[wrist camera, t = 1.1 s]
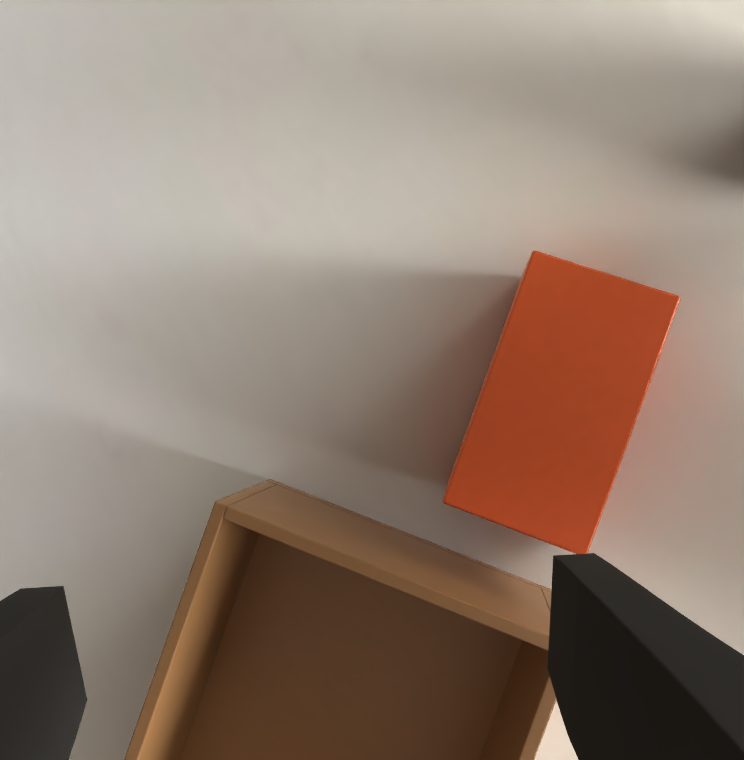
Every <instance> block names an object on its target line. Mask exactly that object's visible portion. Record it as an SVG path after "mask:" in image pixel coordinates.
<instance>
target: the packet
mask: <svg viewBox="0 0 744 760" xmlns="http://www.w3.org/2000/svg"><path fill="white" fill-rule="evenodd" d="M679 301H680V297H679V296H677V295H674V294H671V293H668V292H664V291H661V290H658V289H655V288H652V287H649V286H645V285H642V284H639V283H636V282H633V281H630V280H626V279H623V278H620V277H617V276H614V275H611V274H607V273H604V272H601V271H598V270H595V269H592V268H588V267H585V266H582V265H579V264H576V263H573V262H570V261H566V260H563V259H560V258H557V257H554V256H551V255H547V254H544V253H541V252H538V251H533V252H532V254H531V256H530V259H529V261H528V263H527V266H526V268H525V270H524V273H523V275H522V277H521V280H520V283H519V286H518V288H517V291H516V294H515V297H514V300H513V302H512V305H511V308H510V311H509V313H508V316H507V319H506V322H505V325H504V327H503V330H502V333H501V336H500V339H499V341H498V344H497V347H496V350H495V352H494V355H493V358H492V361H491V364H490V366H489V369H488V372H487V375H486V377H485V380H484V383H483V386H482V389H481V391H480V394H479V397H478V400H477V402H476V405H475V408H474V411H473V414H472V416H471V419H470V422H469V425H468V427H467V430H466V433H465V436H464V439H463V441H462V444H461V447H460V450H459V452H458V455H457V458H456V461H455V464H454V466H453V469H452V472H451V475H450V478H449V480H448V483H447V487H446V491H445V495H444V499H443V502H444V503H445V504H447V505H450V506H453V507H455V508H458V509H460V510H463V511H466V512H468V513H471V514H474V515H476V516H479V517H481V518H484V519H487V520H489V521H492V522H495V523H497V524H500V525H502V526H505V527H508V528H510V529H513V530H515V531H518V532H521V533H523V534H526V535H529V536H531V537H534V538H536V539H539V540H542V541H544V542H547V543H549V544H552V545H555V546H557V547H560V548H563V549H565V550H568V551H570V552H573V553H576V554H587V553H588V550H589V548H590V545H591V542H592V539H593V537H594V534H595V531H596V528H597V526H598V523H599V520H600V517H601V515H602V512H603V509H604V506H605V504H606V501H607V498H608V495H609V493H610V490H611V487H612V485H613V482H614V479H615V476H616V474H617V471H618V468H619V465H620V463H621V460H622V457H623V454H624V452H625V449H626V446H627V443H628V441H629V438H630V435H631V433H632V430H633V427H634V424H635V422H636V419H637V416H638V413H639V411H640V408H641V405H642V402H643V400H644V397H645V394H646V391H647V389H648V386H649V383H650V380H651V378H652V375H653V372H654V370H655V367H656V364H657V361H658V359H659V356H660V353H661V350H662V348H663V345H664V342H665V339H666V337H667V334H668V331H669V328H670V326H671V323H672V320H673V318H674V315H675V312H676V309H677V307H678V304H679Z"/></svg>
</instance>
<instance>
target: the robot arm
mask: <svg viewBox="0 0 744 760" xmlns="http://www.w3.org/2000/svg"><path fill="white" fill-rule="evenodd" d="M547 669H548V672H549V676H550V679H551V682H552V686H553V689H554V692H555V696H556V699H557V702H558V706H559V709H560V712H561V715H562V718H563V721H564V724H565V727H566V730H567V733H568V736H569V738H570V741H571V743H572V745H573V748H574V750H575V752H576V755H577V757H578V759H579V760H744V655H742V654H741V653H739V652H738V651H736V650H735V649H733V648H732V647H730V646H728V645H727V644H725V643H724V642H722V641H721V640H719V639H718V638H716V637H715V636H713V635H712V634H710V633H709V632H707V631H706V630H704V629H703V628H701V627H700V626H698V625H697V624H695V623H694V622H693V621H691V620H690V619H688V618H687V617H685V616H684V615H682V614H681V613H679V612H678V611H677V610H675V609H674V608H672V607H671V606H669V605H668V604H667V603H665V602H664V601H662V600H661V599H659V598H658V597H657V596H655V595H654V594H652V593H651V592H650V591H648V590H647V589H645V588H644V587H643V586H641V585H640V584H638V583H637V582H635V581H634V580H633V579H631V578H630V577H628V576H627V575H626V574H624V573H623V572H621V571H620V570H618V569H617V568H616V567H614V566H613V565H611V564H610V563H608V562H607V561H605V560H604V559H602V558H601V557H599V556H597V555H596V554H594V553H589V554H573V555H557V556H553V573H552V591H551V610H550V628H549V647H548V665H547ZM86 702H87V697H86V692H85V687H84V682H83V678H82V673H81V668H80V663H79V659H78V654H77V649H76V644H75V639H74V635H73V630H72V625H71V620H70V616H69V611H68V606H67V601H66V596H65V592H64V587H63V586H56V587H40V588H24V589H19V590H18V591H16V592H14V593H13V594H11V595H9V596H8V597H6V598H5V599H3V600H1V601H0V760H69V757H70V754H71V751H72V748H73V745H74V742H75V739H76V735H77V732H78V729H79V725H80V722H81V719H82V716H83V712H84V709H85V706H86Z"/></svg>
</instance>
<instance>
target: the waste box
mask: <svg viewBox="0 0 744 760" xmlns="http://www.w3.org/2000/svg"><path fill="white" fill-rule="evenodd" d="M550 610H551V590H550V589H548V588H545V587H543V586H540V585H538V584H535V583H532V582H530V581H527V580H525V579H522V578H520V577H517V576H515V575H512V574H510V573H507V572H504V571H502V570H499V569H497V568H494V567H492V566H489V565H487V564H484V563H482V562H479V561H476V560H474V559H471V558H469V557H466V556H464V555H461V554H459V553H456V552H454V551H451V550H448V549H446V548H443V547H441V546H438V545H436V544H433V543H431V542H428V541H425V540H423V539H420V538H418V537H415V536H413V535H410V534H408V533H405V532H403V531H400V530H397V529H395V528H392V527H390V526H387V525H385V524H382V523H380V522H377V521H375V520H372V519H369V518H367V517H364V516H362V515H359V514H357V513H354V512H352V511H349V510H346V509H344V508H341V507H339V506H336V505H334V504H331V503H329V502H326V501H324V500H321V499H318V498H316V497H313V496H311V495H308V494H306V493H303V492H301V491H298V490H296V489H293V488H290V487H288V486H285V485H283V484H280V483H278V482H275V481H273V480H268V481H265V482H263V483H260V484H258V485H255V486H253V487H250V488H248V489H245V490H243V491H240V492H238V493H235V494H233V495H230V496H228V497H225V498H223V499H221V500H218V501H216V502H215V503H214V506H213V509H212V512H211V515H210V518H209V520H208V523H207V526H206V529H205V532H204V535H203V537H202V540H201V543H200V546H199V549H198V552H197V554H196V557H195V560H194V563H193V566H192V569H191V571H190V574H189V577H188V580H187V583H186V586H185V589H184V591H183V594H182V597H181V600H180V603H179V606H178V608H177V611H176V614H175V617H174V620H173V623H172V625H171V628H170V631H169V634H168V637H167V640H166V642H165V645H164V648H163V651H162V654H161V657H160V660H159V662H158V665H157V668H156V671H155V674H154V677H153V679H152V682H151V685H150V688H149V691H148V694H147V696H146V699H145V702H144V705H143V708H142V711H141V713H140V716H139V719H138V722H137V725H136V728H135V731H134V733H133V736H132V739H131V742H130V745H129V748H128V750H127V753H126V756H125V759H124V760H534V759H535V756H536V754H537V751H538V748H539V745H540V743H541V740H542V737H543V735H544V732H545V729H546V726H547V724H548V721H549V718H550V715H551V713H552V710H553V707H554V704H555V702H556V696H555V692H554V689H553V686H552V682H551V679H550V676H549V672H548V669H547V665H548V647H549V628H550Z"/></svg>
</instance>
